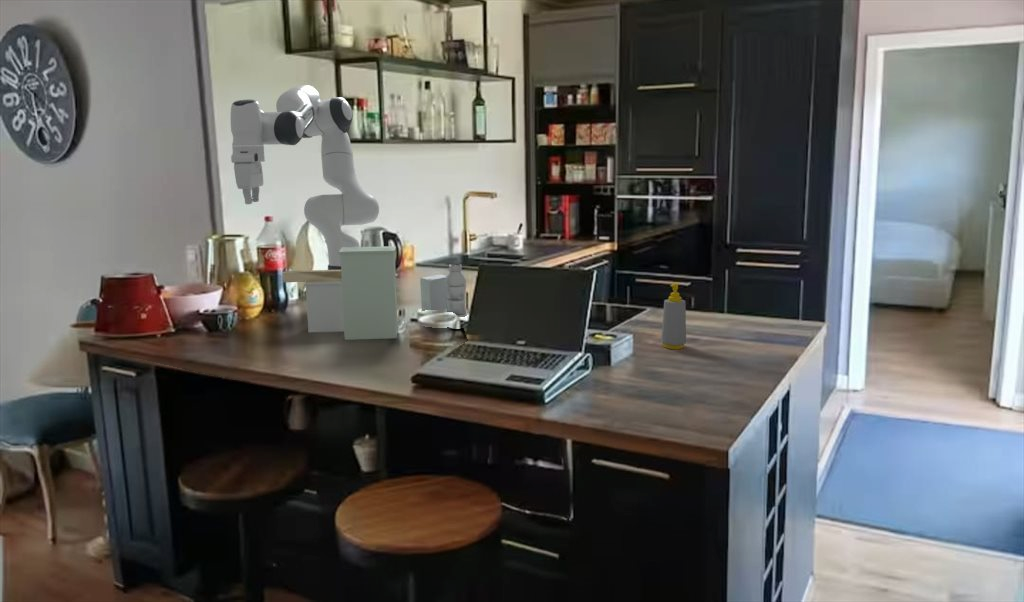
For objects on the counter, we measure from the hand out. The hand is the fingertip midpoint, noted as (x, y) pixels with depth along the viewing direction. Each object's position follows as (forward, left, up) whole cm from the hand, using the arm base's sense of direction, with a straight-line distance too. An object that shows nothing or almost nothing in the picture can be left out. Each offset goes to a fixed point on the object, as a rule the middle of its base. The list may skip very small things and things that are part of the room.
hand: (252, 203), depth 239 cm
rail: (0, +20, -24) cm, 31 cm away
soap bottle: (+37, +119, -39) cm, 131 cm away
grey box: (0, +21, -39) cm, 44 cm away
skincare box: (-4, +54, -39) cm, 67 cm away
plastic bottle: (+7, +60, -39) cm, 72 cm away
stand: (+12, +34, -39) cm, 53 cm away
